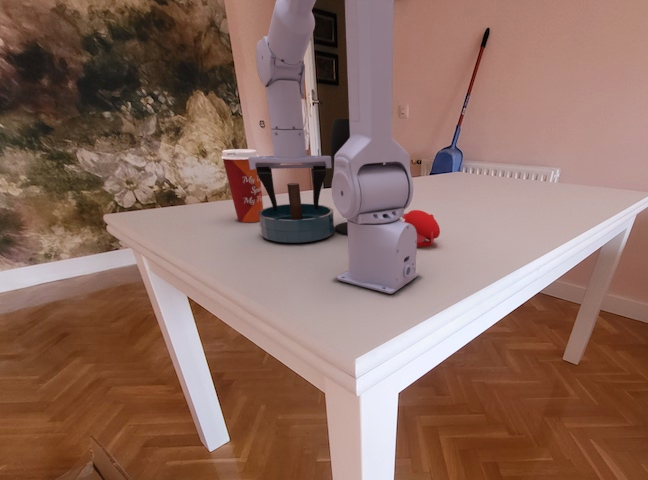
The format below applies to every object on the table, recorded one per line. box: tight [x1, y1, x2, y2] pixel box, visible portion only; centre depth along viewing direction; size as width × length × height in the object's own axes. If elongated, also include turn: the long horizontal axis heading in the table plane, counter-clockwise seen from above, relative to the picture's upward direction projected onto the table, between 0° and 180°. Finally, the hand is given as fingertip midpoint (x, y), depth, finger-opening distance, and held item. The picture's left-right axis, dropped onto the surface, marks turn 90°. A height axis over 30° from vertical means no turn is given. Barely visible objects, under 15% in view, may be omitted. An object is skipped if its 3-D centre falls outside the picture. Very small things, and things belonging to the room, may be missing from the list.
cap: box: [401, 209, 441, 248], centre depth 70 cm, size 8×6×6 cm
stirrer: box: [286, 182, 303, 220], centre depth 73 cm, size 4×4×9 cm
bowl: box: [258, 202, 335, 244], centre depth 75 cm, size 14×14×4 cm
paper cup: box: [220, 148, 264, 223], centre depth 82 cm, size 8×8×14 cm
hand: (296, 209), depth 73 cm, fingers open, 7 cm apart
